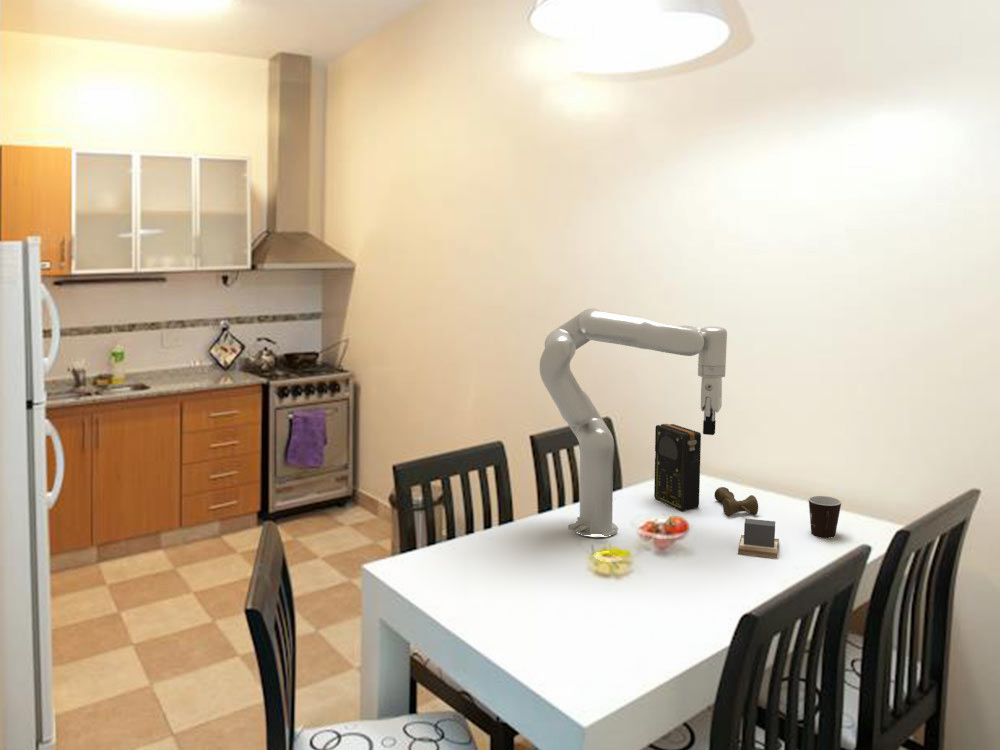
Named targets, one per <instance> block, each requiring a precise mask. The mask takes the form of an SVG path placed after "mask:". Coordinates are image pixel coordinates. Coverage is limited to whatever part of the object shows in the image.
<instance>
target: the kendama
mask: <svg viewBox="0 0 1000 750" xmlns="http://www.w3.org/2000/svg"><path fill="white" fill-rule="evenodd" d="M714 499H715V501H716V502H718V503H721V504H722V510H723V513H724V515H725V516H727V517H732V516H733V515H735V514H736V513H742V512H746V513H748V514H750V515H758V512H759V503H758V500H757V497H756V496H755V495H753V494H751V495H749V496H746V498H745V499H743V500H736V499H735V494H734V493H733V492H732V491H730V490H729V488H727V487H725V486H720V487H717V488H716V490H715V492H714Z"/></svg>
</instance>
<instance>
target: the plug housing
mask: <svg viewBox="0 0 1000 750" xmlns="http://www.w3.org/2000/svg"><path fill="white" fill-rule="evenodd" d="M744 519H745V520H744V525H743V526H744V528H743V535H744V544H745V545H754V546H763V547H772V548H774V542H775V539H776V538H775V537H776V536H775V534H776V521H775V520H763V519H755V518H744Z"/></svg>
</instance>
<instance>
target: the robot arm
mask: <svg viewBox="0 0 1000 750" xmlns="http://www.w3.org/2000/svg"><path fill="white" fill-rule="evenodd" d="M727 339H728V331H727V329H726V328H724V327H721V326H705V327H698V326H690V325H679V326H673V325H668V324H663V323H659V322H656V321H652V320H649V319H647V318H644V317H641V316H635V315H630V314H629V315H628V314H622V313H621V314H620V313H615V312H611V311H610V312H609V311H603V310H599V309H597V308H590V307H589V308H587V309H584V310H583V311H580V312H579V313H578V314H577V315H575V316H573V317H572V318H570V319H568V321H566V322H564V323H562V324H561V325H560V326H559V327H558V326H557V328H555V329H553V330H552V331H551V332H550V333H548V334H547V336H546V338H545V339H544V340H545V341H544V349H543V352H542V354H541V356H540V360H539V375H540V378H541V381H542V383H543V385H544V386H545V389H546V390H547V392H548V393H549V395H550V397H551V399H552V400H553V402H554V404H555V405H556V407H557V408H558V411H559V414H560V415H561V418H562V419H563V420H564V421H565V423H567V425H568V426H569V428H570V429H571V432H572V433H573V435H575V437H576V439H577V441H578V444H579V449H580V451H579V516H577V518H576V521H575V522H573V523H569V524H567V529H568V531H570V532H572V531H574V532H575V531H576V532H578V533H580V534H582V535H591V534H602V535H604V536H609V535H613V534H615V535H617V533H618V532H617V531H619V527H618V525H616V524H615V523H613V512H614V511H613V507H614V506H613V505H614V504H613V501H614V499H613V495H614V494H613V493H614V491H613V488H614V485H613V484H614V481H613V480H614V456H615V440H614V437H613V434H612V432H611V430H610V429H609V428H608V426H607V423H606V422H605V421H604V420H603V417H602V416H601V414H600V412H599V411H598V409H597V408H596V407H595V405H594V403H593V402H592V400H591V398H590V396H589V394H588V393H586V391H584V390H583V389H582V388H581V386H580V384H579V383H578V381H577V378H576V377H575V375H574V374H573V372H572V371H571V366H570V365H571V361H572V360H573V358H574V356H575V355H576V351H577V350H578V349H580V348H581V347H582V346H584V345H586V344H587V343H588V342H590V341H595V342H600V343H607V344H615V345H621V346H626V347H632V348H638V349H640V350H641V349H643V350H649V351H651V350H652V351H655V352H661V353H666V354H671V355H678V356H679V355H680V356H684V357H685V356H687V357H692V356H696V355H698V357H697V358H698V361H697V362H698V363H697V364H698V365H697V376H698V377H700V378H701V382H700V383H701V386H700V387H701V388H700V410H701V412H703V421H702V423H703V424H702V435H708V436H714V435H715V434H716V422H717V421H716V413H718V412H720V410H721V408H722V403H723V402H722V400H723V399H722V397H723V396H722V395H723V393H722V392H723V379H722V378H726V367H727V366H726V363H727V346H728V345H727V342H728V340H727ZM576 532H575V533H576ZM613 536H614V535H613Z"/></svg>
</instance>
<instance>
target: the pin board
mask: <svg viewBox="0 0 1000 750" xmlns="http://www.w3.org/2000/svg"><path fill="white" fill-rule="evenodd" d="M779 544H780V539H779V538H775V542H774V548H772V547H763V546H754V545H745V544H744V534H741V535H740V538H739V542H738V549H737V555H741V554H742V555H743V556H751V557H752V556H753V557H758V558H767V559H778V554H779Z"/></svg>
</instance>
